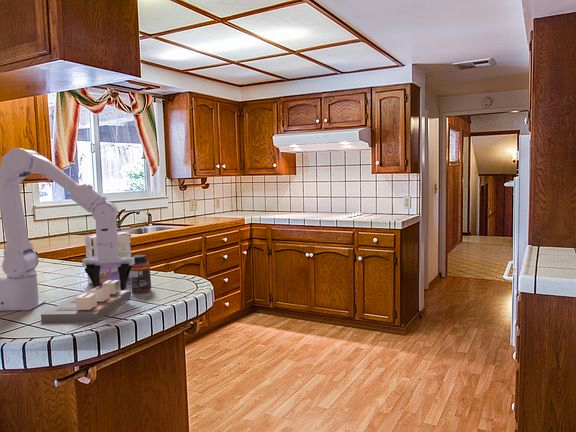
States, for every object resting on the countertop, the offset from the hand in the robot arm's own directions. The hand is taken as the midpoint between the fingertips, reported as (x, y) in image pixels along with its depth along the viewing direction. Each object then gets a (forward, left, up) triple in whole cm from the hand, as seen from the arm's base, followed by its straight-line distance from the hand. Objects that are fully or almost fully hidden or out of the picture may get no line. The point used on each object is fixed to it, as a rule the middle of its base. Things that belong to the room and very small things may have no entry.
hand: (110, 289), depth 133 cm
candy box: (-11, +25, -3) cm, 27 cm away
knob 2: (0, 0, -1) cm, 1 cm away
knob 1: (0, -8, -1) cm, 8 cm away
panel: (-3, -7, -3) cm, 9 cm away
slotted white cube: (0, -15, -1) cm, 15 cm away
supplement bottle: (+5, +10, -3) cm, 12 cm away
